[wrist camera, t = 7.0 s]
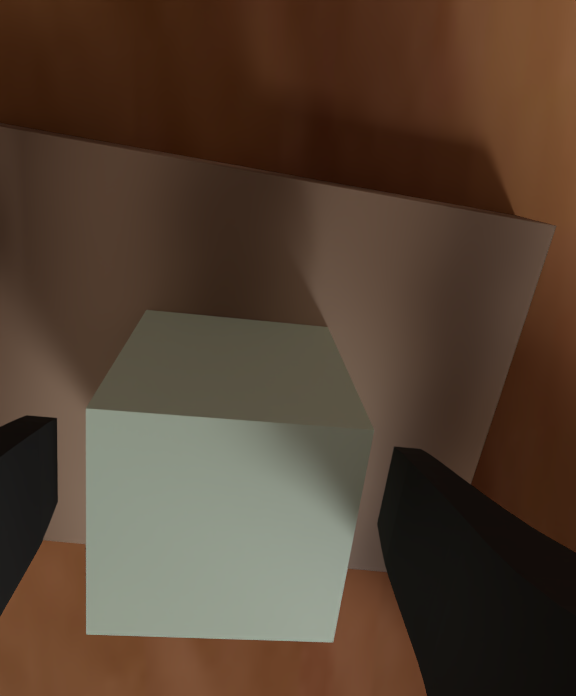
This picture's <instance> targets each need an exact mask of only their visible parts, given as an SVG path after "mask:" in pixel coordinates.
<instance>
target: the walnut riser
mask: <svg viewBox="0 0 576 696" xmlns="http://www.w3.org/2000/svg"><path fill="white" fill-rule="evenodd" d="M555 228H556V226H555V225H551V224H547V223H543V222H539V221H535V220H531V219H527V218H524V217H520V216H516V215H511V214H505V213H499V212H494V211H488V210H483V209H477V208H472V207H466V206H460V205H455V204H449V203H444V202H438V201H433V200H427V199H421V198H416V197H410V196H405V195H399V194H394V193H388V192H383V191H377V190H371V189H366V188H360V187H355V186H349V185H344V184H338V183H332V182H327V181H321V180H316V179H310V178H305V177H299V176H293V175H288V174H282V173H277V172H271V171H266V170H260V169H254V168H249V167H243V166H238V165H232V164H227V163H221V162H215V161H210V160H204V159H199V158H193V157H188V156H182V155H176V154H171V153H165V152H160V151H154V150H149V149H143V148H138V147H132V146H126V145H121V144H115V143H110V142H104V141H99V140H93V139H87V138H82V137H76V136H71V135H65V134H60V133H54V132H48V131H43V130H37V129H32V128H26V127H21V126H15V125H9V124H4V123H0V427H1V426H3V425H5V424H7V423H9V422H11V421H14V420H16V419H18V418H21V417H23V416H26V415H29V416H41V417H53V418H57V459H58V503H57V505H56V508H55V511H54V513H53V516H52V518H51V521H50V524H49V526H48V529H47V531H46V533H45V536H44V538H43V540H48V541H59V542H70V543H80V544H86V407H87V406H88V404H89V402H90V401H91V399H92V397H93V396H94V394H95V393H96V391H97V389H98V388H99V386H100V384H101V383H102V381H103V380H104V378H105V376H106V375H107V373H108V371H109V370H110V368H111V367H112V365H113V363H114V362H115V360H116V358H117V357H118V355H119V354H120V352H121V350H122V349H123V347H124V345H125V344H126V342H127V341H128V339H129V337H130V336H131V334H132V332H133V331H134V329H135V328H136V326H137V324H138V323H139V321H140V319H141V318H142V316H143V315H144V313H145V311H146V310H154V311H164V312H175V313H185V314H196V315H206V316H217V317H228V318H238V319H249V320H259V321H270V322H280V323H291V324H301V325H312V326H322V327H328V329H329V331H330V333H331V335H332V338H333V340H334V342H335V344H336V346H337V349H338V351H339V353H340V355H341V357H342V360H343V362H344V364H345V366H346V368H347V371H348V373H349V375H350V377H351V380H352V382H353V384H354V386H355V388H356V391H357V393H358V395H359V397H360V399H361V402H362V404H363V406H364V408H365V410H366V413H367V415H368V417H369V419H370V421H371V424H372V426H373V428H374V435H373V440H372V445H371V450H370V455H369V460H368V465H367V471H366V476H365V481H364V486H363V491H362V496H361V501H360V506H359V512H358V517H357V522H356V527H355V532H354V537H353V542H352V548H351V553H350V558H349V563H348V568H349V569H360V570H370V571H381V572H387V570H386V567H385V563H384V558H383V554H382V549H381V543H380V538H379V532H378V527H377V522H378V517H379V513H380V508H381V504H382V499H383V495H384V490H385V485H386V481H387V476H388V472H389V467H390V463H391V458H392V453H393V449H394V447H406V448H417V449H422V450H424V451H425V452H427V453H429V454H430V455H432V456H433V457H434V458H436V459H437V460H439V461H440V462H441V463H443V464H444V465H445V466H447V467H448V468H449V469H451V470H452V471H453V472H455V473H456V474H457V475H459V476H460V477H461V478H463V479H464V480H465V481H467V482H468V483H469V484H471V482H472V479H473V476H474V473H475V470H476V467H477V464H478V461H479V458H480V455H481V452H482V449H483V446H484V443H485V440H486V437H487V434H488V431H489V428H490V425H491V422H492V419H493V416H494V413H495V410H496V407H497V404H498V401H499V397H500V394H501V391H502V388H503V385H504V382H505V379H506V376H507V373H508V370H509V367H510V364H511V361H512V358H513V355H514V352H515V349H516V346H517V343H518V340H519V337H520V334H521V331H522V328H523V325H524V322H525V319H526V316H527V313H528V310H529V307H530V304H531V301H532V298H533V295H534V292H535V289H536V286H537V283H538V280H539V277H540V274H541V271H542V268H543V265H544V262H545V258H546V255H547V252H548V249H549V246H550V243H551V240H552V237H553V234H554V231H555Z"/></svg>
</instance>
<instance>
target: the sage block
mask: <svg viewBox="0 0 576 696" xmlns="http://www.w3.org/2000/svg"><path fill="white" fill-rule="evenodd" d="M373 435H374V428H373V426H372V424H371V421H370V419H369V417H368V415H367V413H366V410H365V408H364V406H363V404H362V402H361V399H360V397H359V395H358V393H357V391H356V388H355V386H354V384H353V382H352V380H351V377H350V375H349V373H348V371H347V368H346V366H345V364H344V362H343V360H342V357H341V355H340V353H339V351H338V349H337V346H336V344H335V342H334V340H333V338H332V335H331V333H330V331H329V329H328V327H322V326H312V325H301V324H291V323H280V322H270V321H259V320H249V319H238V318H228V317H217V316H206V315H196V314H185V313H175V312H164V311H154V310H146V311H145V313H144V315H143V316H142V318H141V319H140V321H139V323H138V324H137V326H136V328H135V329H134V331H133V332H132V334H131V336H130V337H129V339H128V341H127V342H126V344H125V345H124V347H123V349H122V350H121V352H120V354H119V355H118V357H117V358H116V360H115V362H114V363H113V365H112V367H111V368H110V370H109V371H108V373H107V375H106V376H105V378H104V380H103V381H102V383H101V384H100V386H99V388H98V389H97V391H96V393H95V394H94V396H93V397H92V399H91V401H90V402H89V404H88V406H87V407H86V634H90V635H121V636H152V637H183V638H215V639H246V640H277V641H308V642H333V640H334V635H335V630H336V625H337V619H338V614H339V609H340V604H341V599H342V594H343V589H344V583H345V578H346V573H347V568H348V563H349V558H350V553H351V548H352V542H353V537H354V532H355V527H356V522H357V517H358V512H359V506H360V501H361V496H362V491H363V486H364V481H365V476H366V471H367V465H368V460H369V455H370V450H371V445H372V440H373Z"/></svg>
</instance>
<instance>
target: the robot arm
mask: <svg viewBox="0 0 576 696" xmlns="http://www.w3.org/2000/svg"><path fill="white" fill-rule="evenodd" d="M57 503H58V459H57V418H53V417H41V416H29V415H26V416H23V417H21V418H18V419H16V420H14V421H11V422H9V423H7V424H5V425H3V426H1V427H0V616H1V614H2V612H3V610H4V609H5V607H6V605H7V603H8V602H9V600H10V598H11V596H12V595H13V593H14V591H15V589H16V588H17V586H18V584H19V583H20V581H21V579H22V577H23V575H24V574H25V572H26V570H27V568H28V567H29V565H30V563H31V561H32V559H33V558H34V556H35V554H36V552H37V550H38V549H39V547H40V545H41V543H42V541H43V538H44V536H45V533H46V531H47V529H48V526H49V524H50V521H51V518H52V516H53V513H54V511H55V508H56V505H57ZM377 527H378V532H379V538H380V543H381V549H382V554H383V558H384V563H385V567H386V570H387V573H388V576H389V579H390V582H391V585H392V588H393V591H394V594H395V597H396V600H397V603H398V606H399V609H400V612H401V614H402V617H403V620H404V623H405V626H406V629H407V632H408V635H409V638H410V640H411V643H412V646H413V649H414V652H415V655H416V658H417V661H418V664H419V667H420V671H421V674H422V677H423V681H424V684H425V688H426V693H427V696H576V553H575V552H573V551H572V550H570V549H568V548H566V547H565V546H563V545H561V544H559V543H558V542H556V541H554V540H552V539H551V538H549V537H547V536H545V535H544V534H542V533H540V532H539V531H537V530H536V529H534V528H532V527H531V526H529V525H528V524H526V523H525V522H523V521H522V520H520V519H519V518H517V517H516V516H514V515H513V514H511V513H510V512H508V511H507V510H505V509H504V508H502V507H501V506H499V505H498V504H497V503H495V502H494V501H492V500H491V499H490V498H488V497H487V496H485V495H484V494H483V493H481V492H480V491H479V490H477V489H476V488H475V487H473V486H472V485H471V484H469V483H468V482H467V481H465V480H464V479H463V478H461V477H460V476H459V475H457V474H456V473H455V472H453V471H452V470H451V469H449V468H448V467H447V466H445V465H444V464H443V463H441V462H440V461H439V460H437V459H436V458H434V457H433V456H432V455H430V454H429V453H427V452H425V451H424V450H422V449H417V448H406V447H394V449H393V453H392V458H391V463H390V467H389V472H388V476H387V481H386V485H385V490H384V495H383V499H382V504H381V508H380V513H379V517H378V522H377Z"/></svg>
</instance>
